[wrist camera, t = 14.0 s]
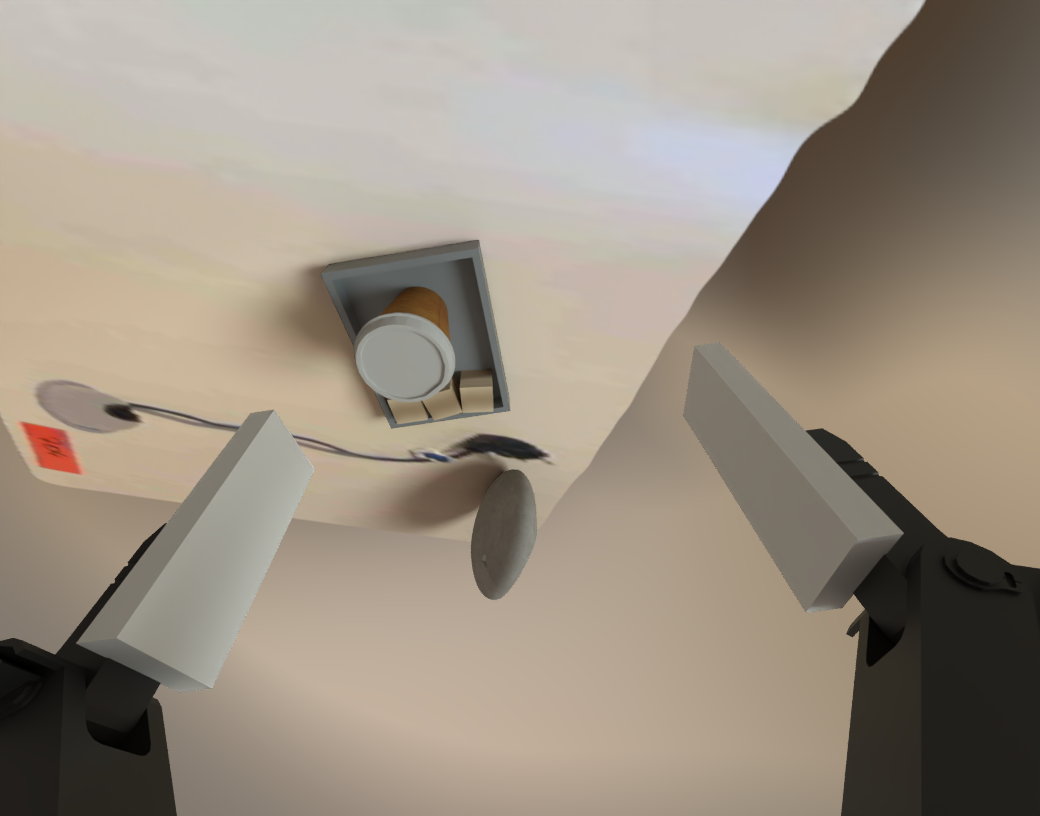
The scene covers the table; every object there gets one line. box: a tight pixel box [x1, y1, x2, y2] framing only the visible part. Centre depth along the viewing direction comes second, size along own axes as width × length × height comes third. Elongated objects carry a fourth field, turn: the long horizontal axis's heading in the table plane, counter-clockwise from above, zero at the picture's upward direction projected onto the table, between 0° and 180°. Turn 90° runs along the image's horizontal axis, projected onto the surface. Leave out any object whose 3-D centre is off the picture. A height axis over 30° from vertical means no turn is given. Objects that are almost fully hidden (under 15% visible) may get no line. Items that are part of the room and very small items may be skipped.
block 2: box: [422, 374, 463, 421], centre depth 51 cm, size 4×4×4 cm
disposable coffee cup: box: [354, 287, 455, 402], centre depth 42 cm, size 10×10×12 cm
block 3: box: [460, 369, 494, 413], centre depth 51 cm, size 4×4×4 cm
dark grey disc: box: [471, 470, 537, 600], centre depth 59 cm, size 18×7×19 cm, turn 155°
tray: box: [321, 240, 510, 428], centre depth 48 cm, size 22×17×3 cm
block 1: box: [387, 398, 429, 424], centre depth 52 cm, size 4×4×4 cm
